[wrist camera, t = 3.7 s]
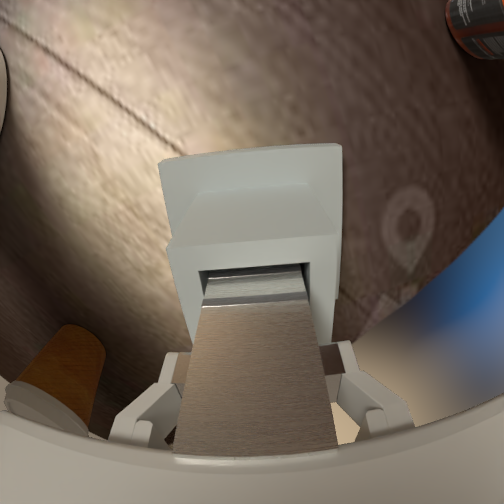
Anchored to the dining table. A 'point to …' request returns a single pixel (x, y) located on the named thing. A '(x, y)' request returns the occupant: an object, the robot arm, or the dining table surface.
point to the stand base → (256, 220)
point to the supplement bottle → (477, 26)
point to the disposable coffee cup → (60, 381)
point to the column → (255, 372)
